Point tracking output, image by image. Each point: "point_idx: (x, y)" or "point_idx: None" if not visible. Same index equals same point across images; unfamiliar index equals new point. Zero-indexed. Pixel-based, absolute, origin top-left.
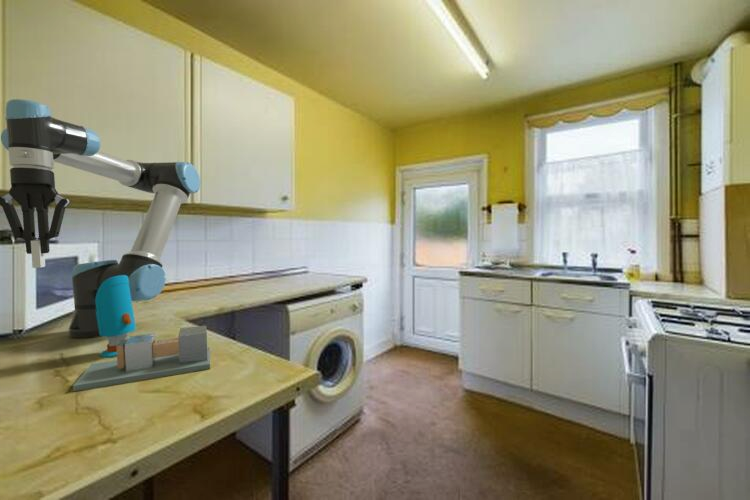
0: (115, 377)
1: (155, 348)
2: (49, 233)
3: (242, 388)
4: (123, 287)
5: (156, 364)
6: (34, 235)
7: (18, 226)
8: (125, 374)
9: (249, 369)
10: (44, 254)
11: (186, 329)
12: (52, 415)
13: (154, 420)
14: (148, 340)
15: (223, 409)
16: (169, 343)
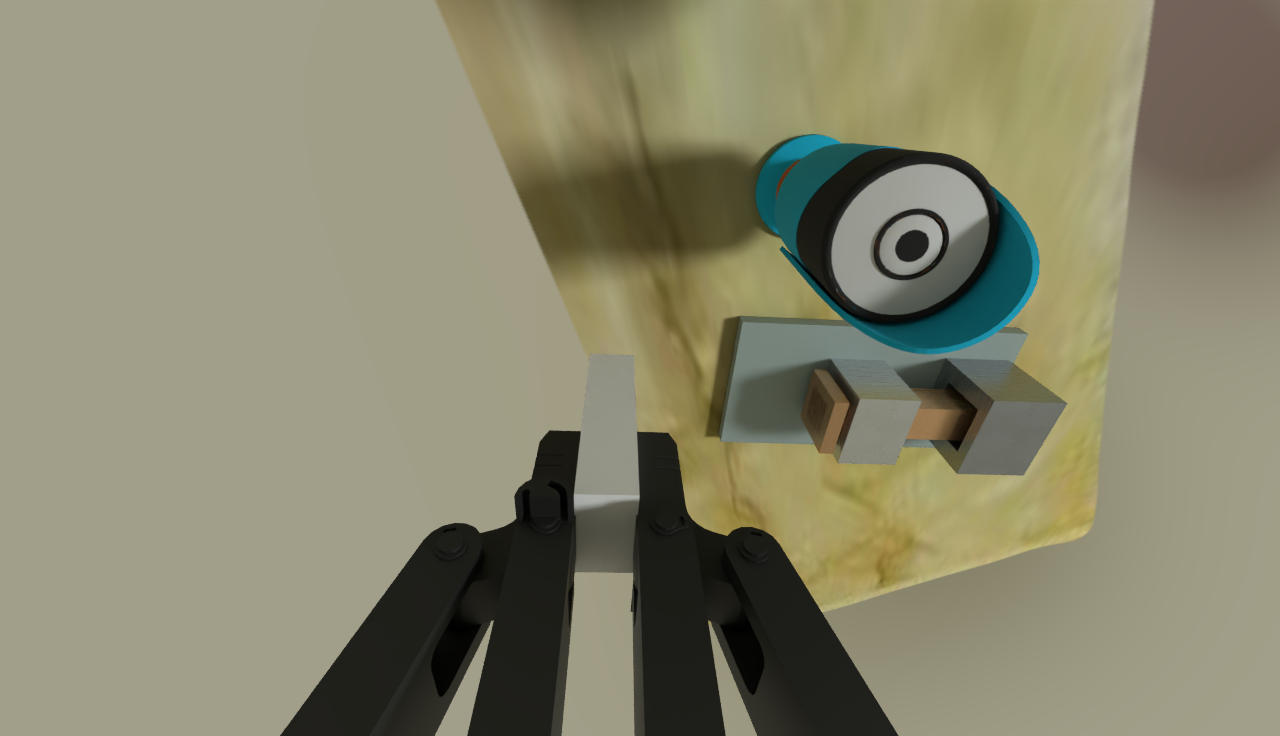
0: (792, 436)
1: None
2: (720, 631)
3: (962, 536)
4: (961, 300)
5: None
6: (571, 558)
7: (436, 703)
8: None
9: (1019, 476)
10: (635, 409)
11: (1002, 420)
12: (704, 505)
13: (827, 568)
14: (891, 457)
15: (909, 576)
16: (931, 437)
